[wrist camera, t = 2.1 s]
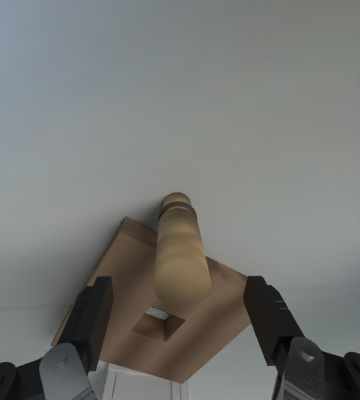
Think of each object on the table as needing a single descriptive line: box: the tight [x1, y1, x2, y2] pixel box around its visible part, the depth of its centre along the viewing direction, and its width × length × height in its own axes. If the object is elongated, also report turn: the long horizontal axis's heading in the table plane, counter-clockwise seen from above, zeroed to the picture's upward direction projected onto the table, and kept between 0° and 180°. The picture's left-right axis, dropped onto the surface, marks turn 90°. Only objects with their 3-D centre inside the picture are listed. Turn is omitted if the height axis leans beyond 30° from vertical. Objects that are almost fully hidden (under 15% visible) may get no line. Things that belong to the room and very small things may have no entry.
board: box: [50, 217, 251, 384], centre depth 28 cm, size 20×20×3 cm
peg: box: [153, 192, 211, 307], centre depth 18 cm, size 4×4×11 cm
